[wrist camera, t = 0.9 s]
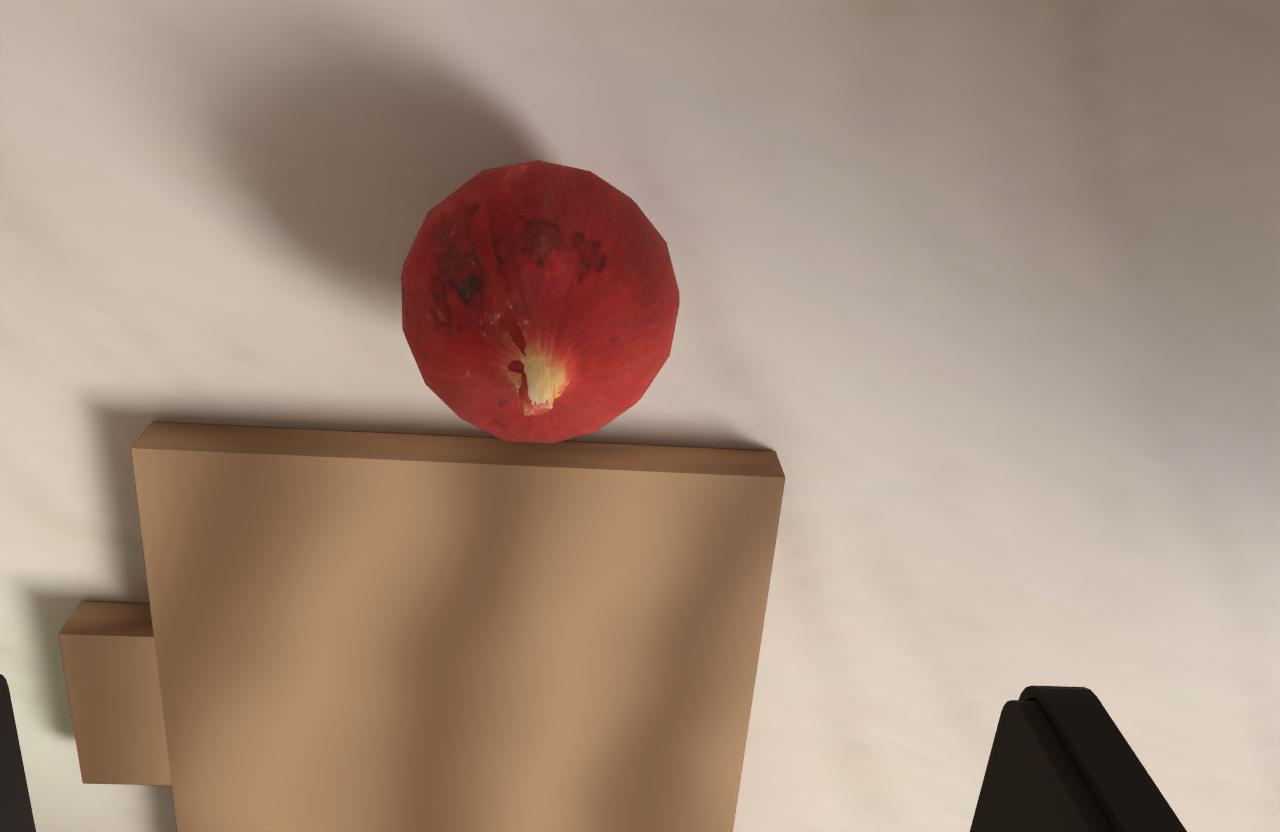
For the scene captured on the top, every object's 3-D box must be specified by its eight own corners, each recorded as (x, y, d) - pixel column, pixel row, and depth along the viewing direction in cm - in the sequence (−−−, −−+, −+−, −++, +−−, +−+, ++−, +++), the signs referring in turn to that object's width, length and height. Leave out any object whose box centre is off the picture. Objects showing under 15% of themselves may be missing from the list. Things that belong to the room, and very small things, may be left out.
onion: (372, 232, 27) (297, 355, 19) (562, 80, 25) (557, 150, 18) (529, 407, 29) (513, 577, 21) (710, 274, 28) (759, 406, 20)
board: (775, 451, 30) (785, 477, 28) (712, 894, 36) (717, 933, 35) (53, 417, 28) (27, 443, 27) (124, 886, 35) (105, 926, 33)
